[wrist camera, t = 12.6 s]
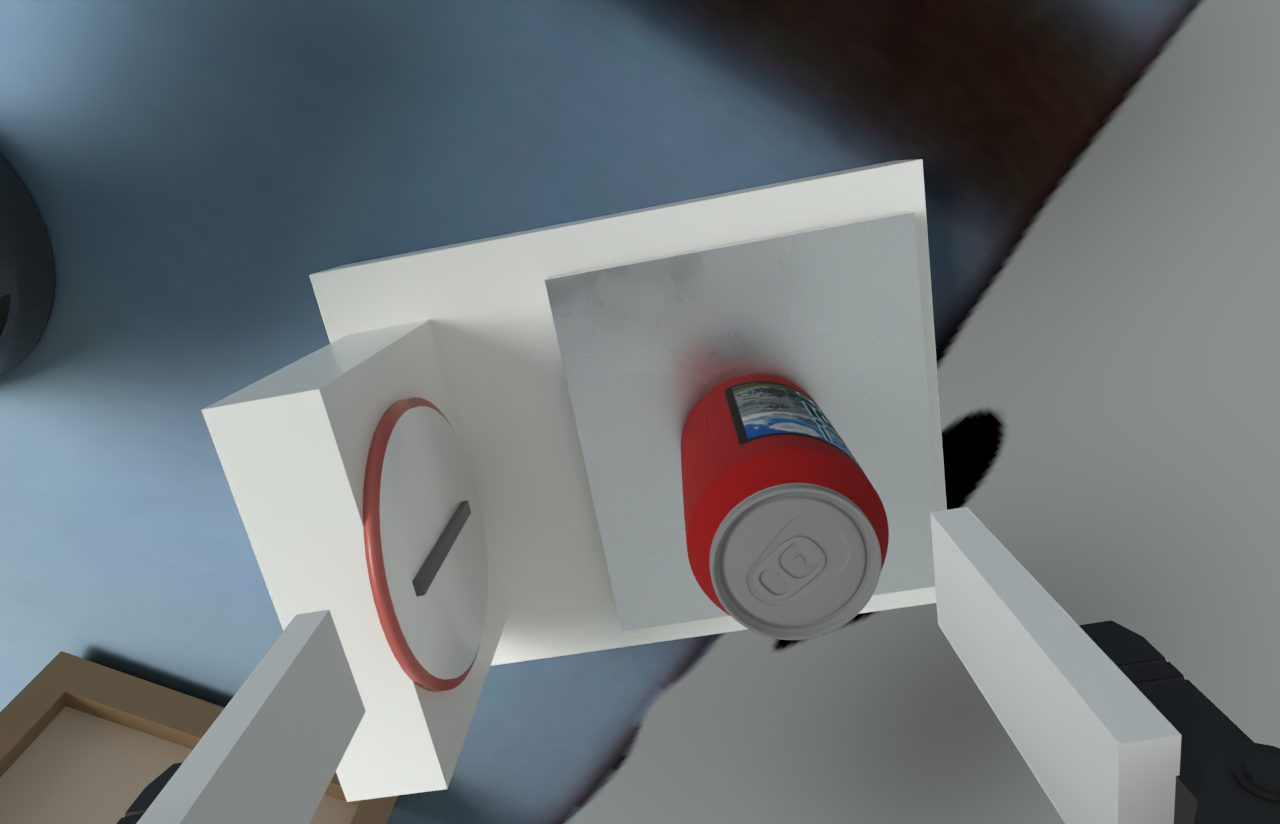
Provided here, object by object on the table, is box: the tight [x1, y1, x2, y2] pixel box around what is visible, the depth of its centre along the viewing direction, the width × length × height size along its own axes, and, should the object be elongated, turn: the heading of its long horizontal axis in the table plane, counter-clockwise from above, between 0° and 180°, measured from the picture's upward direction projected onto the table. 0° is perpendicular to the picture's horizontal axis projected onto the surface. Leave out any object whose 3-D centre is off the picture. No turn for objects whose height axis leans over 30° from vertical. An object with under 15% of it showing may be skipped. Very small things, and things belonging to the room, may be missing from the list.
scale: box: [202, 159, 947, 802], centre depth 33 cm, size 28×22×17 cm
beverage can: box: [681, 375, 889, 640], centre depth 29 cm, size 7×7×12 cm
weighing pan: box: [545, 211, 937, 631], centre depth 36 cm, size 16×18×1 cm
